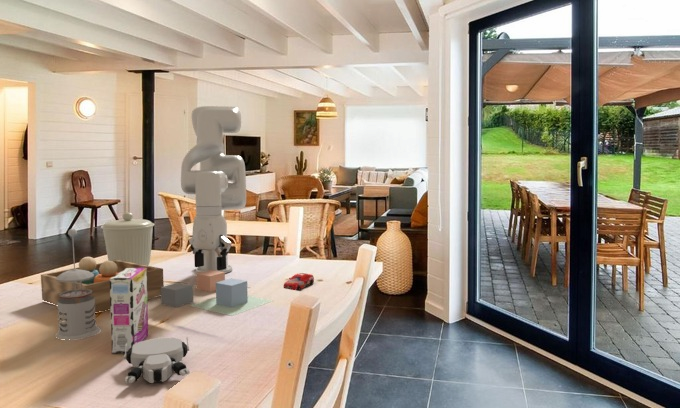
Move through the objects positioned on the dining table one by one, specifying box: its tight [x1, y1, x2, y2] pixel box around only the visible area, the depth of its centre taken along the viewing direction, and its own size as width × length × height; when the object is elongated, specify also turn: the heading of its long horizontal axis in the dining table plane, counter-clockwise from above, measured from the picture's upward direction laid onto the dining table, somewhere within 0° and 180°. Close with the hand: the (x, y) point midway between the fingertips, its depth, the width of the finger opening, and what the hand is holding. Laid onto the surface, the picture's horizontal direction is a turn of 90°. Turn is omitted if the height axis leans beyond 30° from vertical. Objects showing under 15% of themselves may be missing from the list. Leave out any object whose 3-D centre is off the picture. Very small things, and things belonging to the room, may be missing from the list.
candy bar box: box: [109, 268, 149, 354], centre depth 114 cm, size 11×5×16 cm, turn 5°
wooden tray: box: [40, 260, 165, 313], centre depth 151 cm, size 23×24×8 cm
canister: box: [100, 211, 156, 266], centre depth 188 cm, size 18×18×21 cm
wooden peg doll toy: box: [78, 256, 118, 285], centre depth 152 cm, size 18×17×12 cm
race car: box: [283, 272, 315, 292], centre depth 165 cm, size 13×5×4 cm, turn 152°
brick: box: [195, 270, 226, 293], centre depth 158 cm, size 6×6×6 cm
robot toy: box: [123, 336, 190, 384], centre depth 101 cm, size 12×4×15 cm
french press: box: [55, 228, 101, 341], centre depth 122 cm, size 10×12×25 cm
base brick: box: [215, 278, 249, 308], centre depth 142 cm, size 6×6×6 cm
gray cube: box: [160, 282, 194, 308], centre depth 143 cm, size 6×6×6 cm
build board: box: [189, 295, 273, 317], centre depth 142 cm, size 16×16×1 cm
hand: (210, 268), depth 157 cm, fingers open, 9 cm apart
